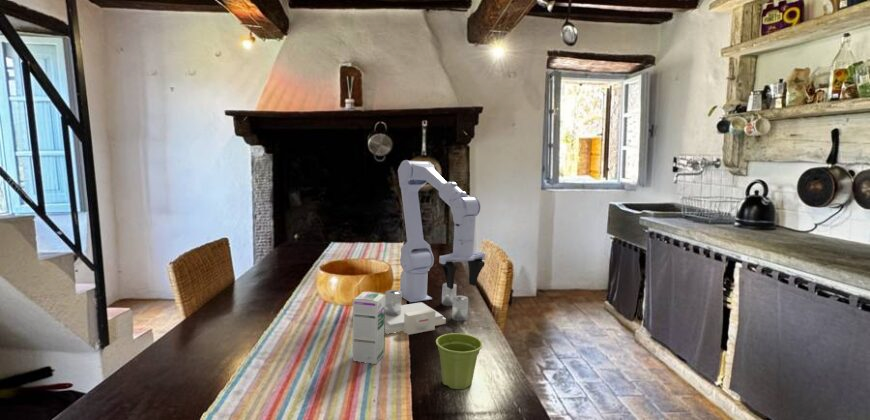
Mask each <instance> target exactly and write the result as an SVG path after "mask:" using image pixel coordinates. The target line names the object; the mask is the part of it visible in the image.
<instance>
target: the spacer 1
mask: <svg viewBox="0 0 870 420" xmlns="http://www.w3.org/2000/svg"><path fill="white" fill-rule="evenodd" d="M384 294H385V315H387V316H399V315H401V305H402V298H403V297H402V292H401V291H400V289H398V290H397V289H388V290H386V291H385V293H384Z"/></svg>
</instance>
